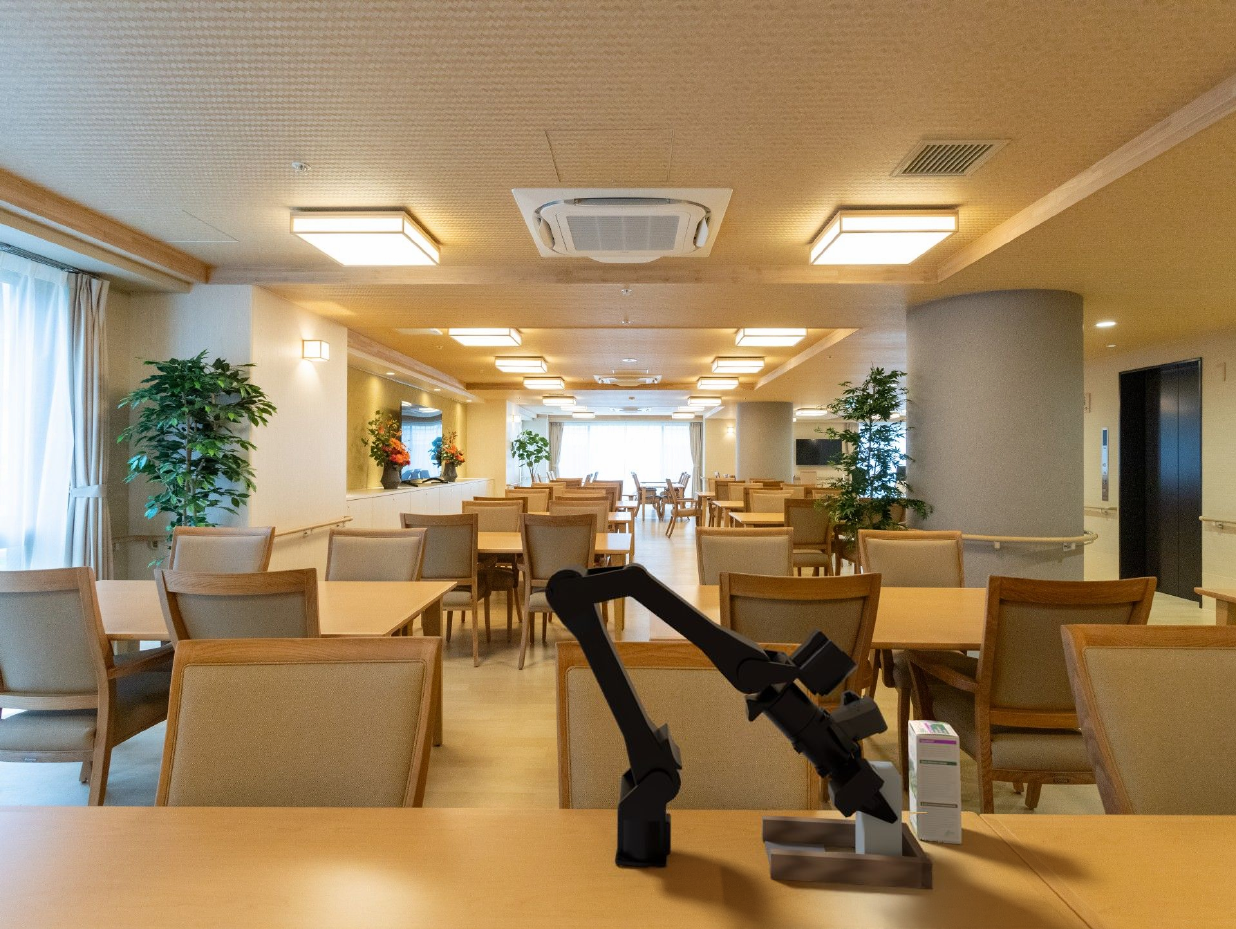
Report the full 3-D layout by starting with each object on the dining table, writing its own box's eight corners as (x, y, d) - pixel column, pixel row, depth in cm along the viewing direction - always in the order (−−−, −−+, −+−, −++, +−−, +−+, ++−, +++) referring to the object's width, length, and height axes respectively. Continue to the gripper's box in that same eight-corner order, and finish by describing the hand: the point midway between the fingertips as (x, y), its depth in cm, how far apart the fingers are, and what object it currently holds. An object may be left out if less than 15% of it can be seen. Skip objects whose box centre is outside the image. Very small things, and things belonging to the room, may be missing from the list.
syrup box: (963, 845, 93) (962, 735, 93) (916, 840, 94) (915, 732, 94) (951, 824, 98) (951, 721, 99) (907, 820, 99) (907, 718, 100)
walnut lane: (770, 878, 84) (770, 853, 84) (761, 837, 94) (761, 815, 94) (932, 888, 83) (932, 863, 83) (906, 845, 92) (906, 822, 92)
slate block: (864, 872, 86) (864, 774, 86) (855, 853, 90) (855, 760, 91) (901, 874, 86) (901, 776, 86) (891, 855, 90) (890, 761, 90)
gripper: (865, 700, 80) (965, 802, 78) (830, 659, 98) (911, 741, 97) (795, 766, 80) (893, 868, 79) (774, 712, 99) (853, 795, 97)
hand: (889, 811), depth 88 cm, fingers closed on slate block, 4 cm apart
